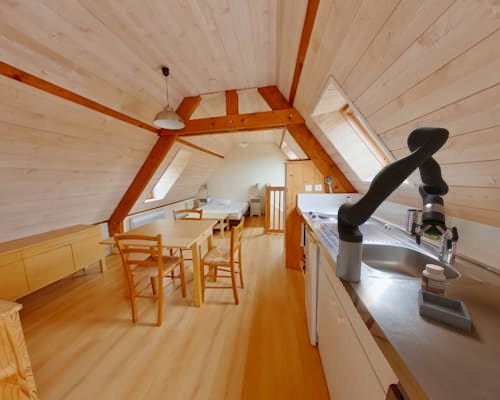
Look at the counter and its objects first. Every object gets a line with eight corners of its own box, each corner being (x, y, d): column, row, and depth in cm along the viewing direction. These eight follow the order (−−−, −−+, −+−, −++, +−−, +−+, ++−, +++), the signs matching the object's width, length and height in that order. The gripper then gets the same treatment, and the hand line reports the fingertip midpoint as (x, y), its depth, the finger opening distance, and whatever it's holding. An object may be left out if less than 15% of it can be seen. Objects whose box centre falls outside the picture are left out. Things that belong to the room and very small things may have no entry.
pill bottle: (420, 288, 73) (423, 261, 72) (443, 294, 69) (446, 266, 68) (420, 295, 69) (423, 267, 67) (444, 302, 64) (447, 272, 63)
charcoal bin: (419, 314, 59) (420, 304, 58) (418, 298, 67) (418, 289, 66) (470, 332, 52) (471, 320, 51) (462, 312, 60) (463, 301, 59)
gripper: (412, 209, 86) (410, 238, 78) (458, 212, 77) (461, 246, 69) (411, 218, 90) (409, 247, 83) (454, 222, 81) (456, 255, 73)
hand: (433, 246), depth 76 cm, fingers open, 8 cm apart
